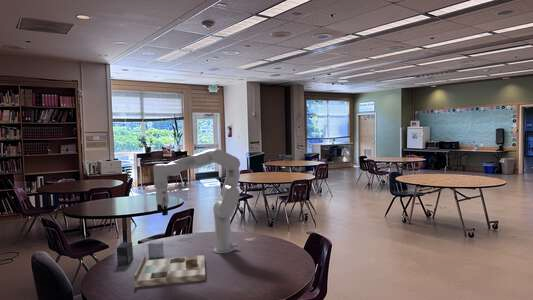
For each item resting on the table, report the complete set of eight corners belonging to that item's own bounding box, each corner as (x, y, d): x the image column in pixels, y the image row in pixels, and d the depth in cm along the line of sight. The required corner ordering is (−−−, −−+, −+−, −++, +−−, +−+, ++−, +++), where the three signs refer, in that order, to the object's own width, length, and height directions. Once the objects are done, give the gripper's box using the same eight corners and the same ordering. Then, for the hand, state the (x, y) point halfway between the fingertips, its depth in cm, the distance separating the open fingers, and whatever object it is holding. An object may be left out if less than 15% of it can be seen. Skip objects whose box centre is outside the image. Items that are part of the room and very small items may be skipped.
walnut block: (197, 262, 200) (197, 255, 200) (197, 266, 194) (196, 259, 194) (186, 263, 199) (185, 256, 199) (185, 267, 193) (185, 260, 193)
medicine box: (163, 255, 224) (163, 241, 224) (161, 257, 220) (160, 243, 219) (151, 255, 225) (150, 241, 225) (148, 257, 221) (147, 243, 220)
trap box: (204, 260, 213) (204, 250, 213) (205, 280, 183) (204, 268, 183) (144, 265, 207) (143, 255, 206) (134, 287, 177) (134, 275, 177)
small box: (122, 259, 219) (121, 242, 219) (133, 258, 220) (132, 241, 219) (116, 265, 209) (115, 247, 208) (128, 264, 209) (127, 246, 209)
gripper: (172, 185, 208) (173, 215, 209) (162, 183, 222) (164, 210, 223) (158, 187, 204) (160, 217, 205) (150, 184, 218) (152, 212, 219)
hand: (162, 213), depth 214 cm, fingers open, 9 cm apart
